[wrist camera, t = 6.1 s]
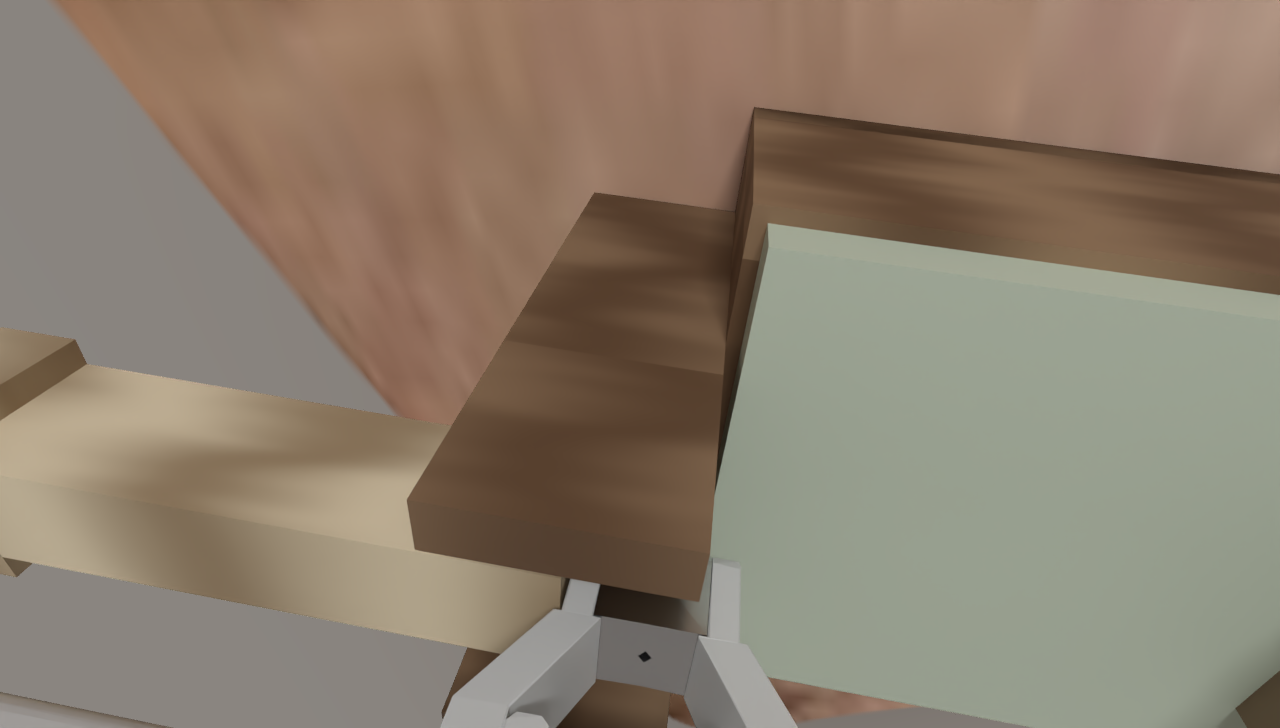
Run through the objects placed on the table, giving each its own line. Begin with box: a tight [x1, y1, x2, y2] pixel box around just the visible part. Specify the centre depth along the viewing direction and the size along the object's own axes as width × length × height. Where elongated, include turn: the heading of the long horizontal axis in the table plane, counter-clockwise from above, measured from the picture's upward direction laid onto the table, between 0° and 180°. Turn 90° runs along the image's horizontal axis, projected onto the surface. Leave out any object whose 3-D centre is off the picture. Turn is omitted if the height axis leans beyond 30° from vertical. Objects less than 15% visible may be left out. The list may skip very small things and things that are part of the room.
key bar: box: [0, 327, 570, 654], centre depth 12 cm, size 12×4×3 cm, turn 85°
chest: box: [407, 107, 1280, 728], centre depth 14 cm, size 22×12×12 cm, turn 85°
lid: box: [710, 223, 1280, 728], centre depth 12 cm, size 17×11×6 cm, turn 85°
